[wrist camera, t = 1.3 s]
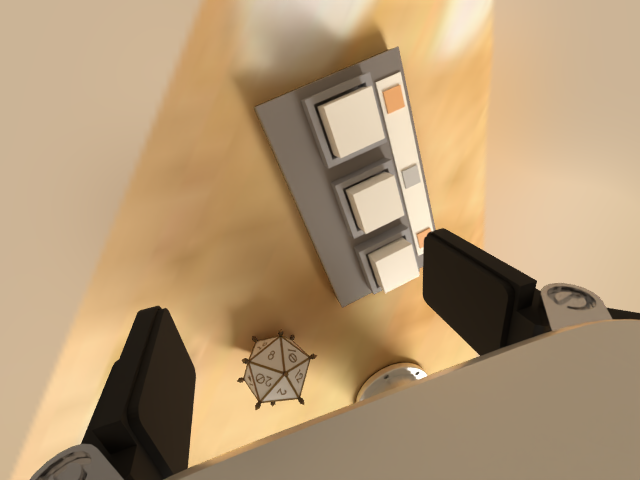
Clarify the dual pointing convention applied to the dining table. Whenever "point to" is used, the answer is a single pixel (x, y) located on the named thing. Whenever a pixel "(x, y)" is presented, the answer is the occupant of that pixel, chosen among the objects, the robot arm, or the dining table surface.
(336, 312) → the dining table surface
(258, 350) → the game die
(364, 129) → the button
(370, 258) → the button
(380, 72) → the button board
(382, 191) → the middle button
